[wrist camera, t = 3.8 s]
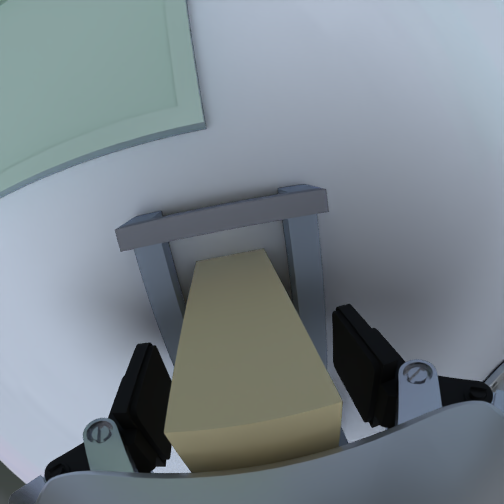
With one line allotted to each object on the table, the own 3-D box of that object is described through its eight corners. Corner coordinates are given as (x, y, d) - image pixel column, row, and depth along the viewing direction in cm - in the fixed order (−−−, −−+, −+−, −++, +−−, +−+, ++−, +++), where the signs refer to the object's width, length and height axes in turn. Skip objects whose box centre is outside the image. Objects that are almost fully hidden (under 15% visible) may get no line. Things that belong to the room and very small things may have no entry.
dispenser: (311, 183, 12) (440, 215, 4) (325, 441, 18) (356, 524, 10) (129, 218, 11) (15, 297, 4) (222, 461, 17) (228, 549, 9)
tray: (177, -73, 7) (175, -90, 5) (206, 128, 11) (203, 121, 9) (-34, 34, 6) (-48, 29, 4) (-37, 218, 10) (-55, 225, 8)
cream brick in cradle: (263, 248, 13) (342, 401, 4) (282, 369, 15) (328, 514, 6) (196, 261, 12) (163, 432, 4) (228, 379, 15) (242, 531, 6)
